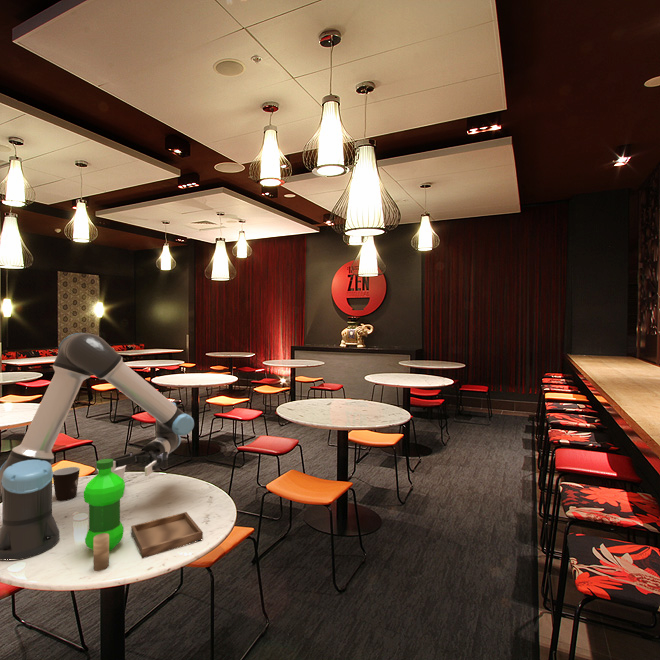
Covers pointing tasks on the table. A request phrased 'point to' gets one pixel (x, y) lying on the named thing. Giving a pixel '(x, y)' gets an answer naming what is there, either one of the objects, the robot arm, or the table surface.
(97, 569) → the peg
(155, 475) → the table surface
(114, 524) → the plastic bottle
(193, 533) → the tray
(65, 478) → the coffee mug
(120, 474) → the cup
